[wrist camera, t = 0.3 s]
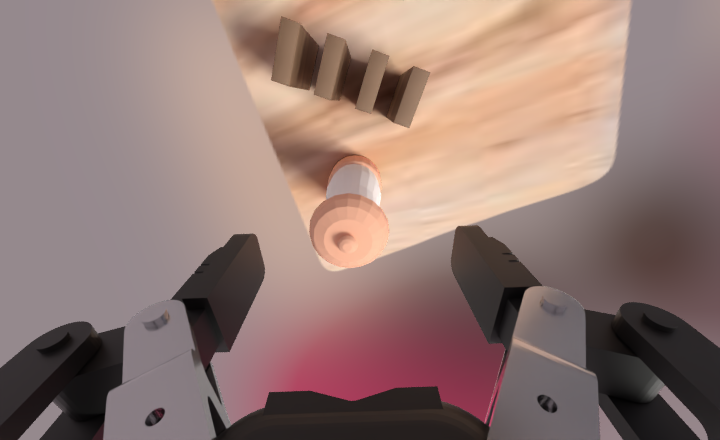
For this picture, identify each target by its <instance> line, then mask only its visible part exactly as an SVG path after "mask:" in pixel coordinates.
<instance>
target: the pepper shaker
mask: <svg viewBox="0 0 720 440" xmlns="http://www.w3.org/2000/svg"><path fill="white" fill-rule="evenodd" d="M381 189H382V185H381V178H380V173H379V171H378V169H377V167H376V165H375V164H374V163H373V162H372V161H371V160H369V159H367V158H365V157H363V156H357V155H353V156H347V157H345V158H343V159H341V160H340V161H339V162H338V163H337V164H336V165H335V166H334V168H333V170H332V172H331V174H330V177H329V179H328V187H327V193H326V200H325V201H323V202H322V203H321V204H320V205H319V206H318V207H317V208H316V209H315V211H314V213H313V216H312V218H311V220H310V231H309V232H310V237H311V241H312V244H313V247H314V248H315V250H316V251H317V252H318V254H319V255H320V256H321V257H322V258H324V259H325V260H326V261H327V262H329V263H331V264H334V265H336V266H339V267H345V268H353V267H360V266H363V265H365V264H368V263H370V262H372V261H373V260H374V259H376V258H377V257H378V256H379V255H380V254H381V252H382V251H383V249H384V248H385V246H386V244H387V240H388V235H389V225H388V219H387V218H386V216H385V214H384V212H383V210H382V209H381V208H380V207H379V204H380V199H381Z"/></svg>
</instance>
